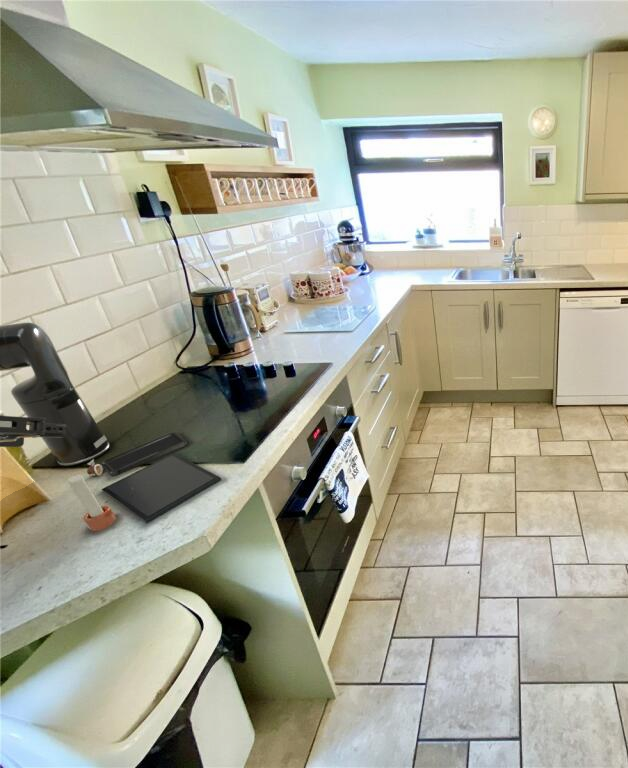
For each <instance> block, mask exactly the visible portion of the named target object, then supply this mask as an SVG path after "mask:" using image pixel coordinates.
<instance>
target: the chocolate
mask: <svg viewBox="0 0 628 768" xmlns="http://www.w3.org/2000/svg"><path fill="white" fill-rule="evenodd" d="M87 465H89V467H87V469H86V472H87V475H88V476H89V477H100V476H102V475H103V473H104V467H103V465H102V464H99V463H95V459H93V460H91V461H89V462H88V463H87Z"/></svg>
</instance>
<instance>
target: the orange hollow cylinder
mask: <svg viewBox="0 0 628 768" xmlns="http://www.w3.org/2000/svg"><path fill="white" fill-rule="evenodd" d="M100 507H101V508H102V510H103V511H104V513H102V514H101V515H99V516H97V517H95V518H91V516H90V515H89V513H88V512H86V513H85V514H84V515H83V517H82V521H83V522H84V523H85V525H86V526H87V528H88V529H89V530H90V531H91V532H98V531H99V532H100V531H102V530H104V529H106V528H109V527H110V526H111V525H113V524H114V523H115V522H116V521H117V516H116V515H115V513H114V512H113V511H112V509H111V508H110V506H108V505H100Z"/></svg>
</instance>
